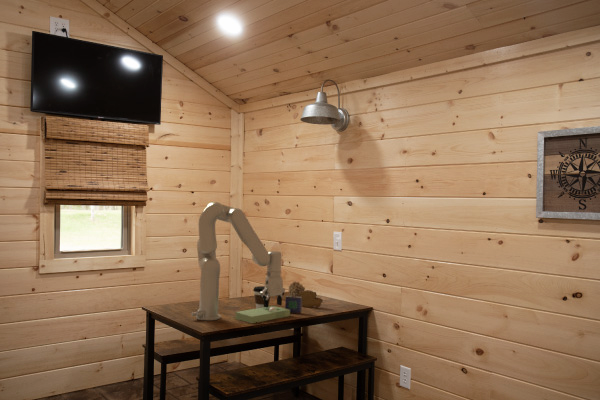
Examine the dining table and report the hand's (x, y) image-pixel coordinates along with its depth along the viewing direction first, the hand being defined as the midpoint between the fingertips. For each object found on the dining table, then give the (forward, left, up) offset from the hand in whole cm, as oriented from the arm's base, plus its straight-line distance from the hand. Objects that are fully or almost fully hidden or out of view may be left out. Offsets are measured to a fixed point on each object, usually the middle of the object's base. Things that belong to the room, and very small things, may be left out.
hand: (272, 306), depth 271 cm
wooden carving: (+32, +3, -5) cm, 32 cm away
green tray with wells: (-7, 0, -5) cm, 8 cm away
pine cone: (+47, +25, -5) cm, 53 cm away
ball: (0, 0, -3) cm, 3 cm away
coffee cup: (+7, +16, -5) cm, 18 cm away
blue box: (+14, -2, -5) cm, 15 cm away
